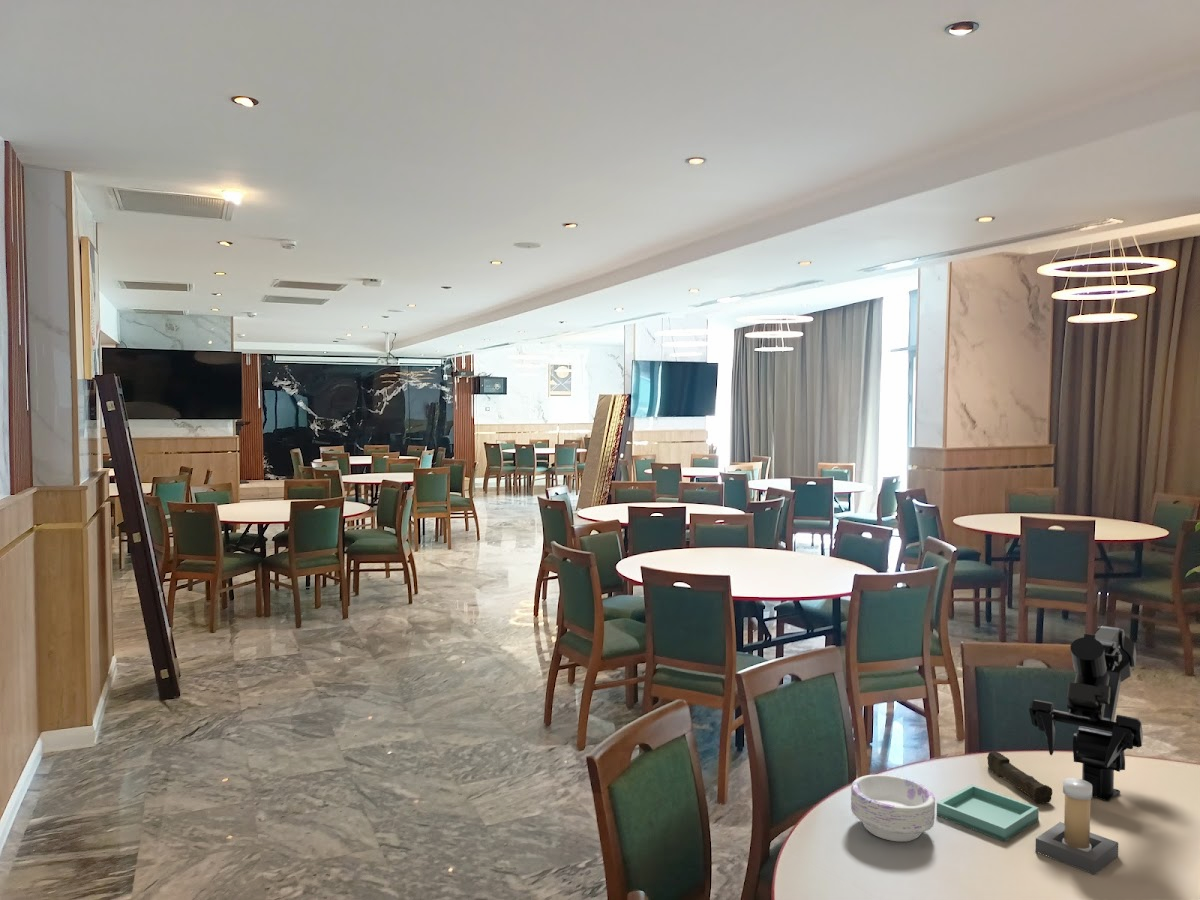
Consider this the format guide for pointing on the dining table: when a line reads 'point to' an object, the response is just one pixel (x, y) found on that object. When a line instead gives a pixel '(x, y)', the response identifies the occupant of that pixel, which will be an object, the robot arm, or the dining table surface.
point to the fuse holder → (1077, 850)
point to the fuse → (1077, 813)
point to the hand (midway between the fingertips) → (1077, 759)
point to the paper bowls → (892, 806)
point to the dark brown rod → (1019, 778)
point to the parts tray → (988, 812)
